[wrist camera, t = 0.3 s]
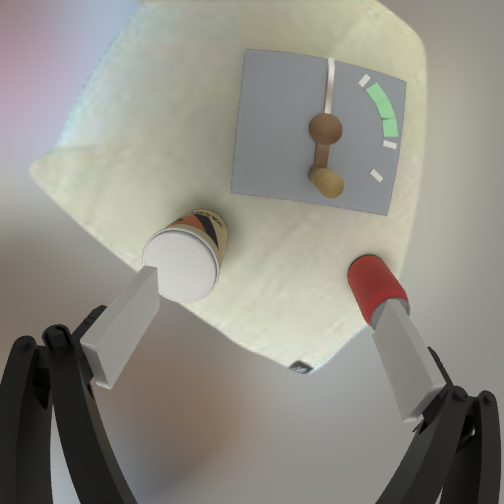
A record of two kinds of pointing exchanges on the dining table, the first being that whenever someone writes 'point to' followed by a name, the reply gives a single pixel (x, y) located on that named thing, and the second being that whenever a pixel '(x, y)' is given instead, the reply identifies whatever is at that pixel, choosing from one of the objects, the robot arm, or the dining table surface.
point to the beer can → (374, 288)
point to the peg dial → (326, 145)
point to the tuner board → (298, 136)
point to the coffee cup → (188, 255)
